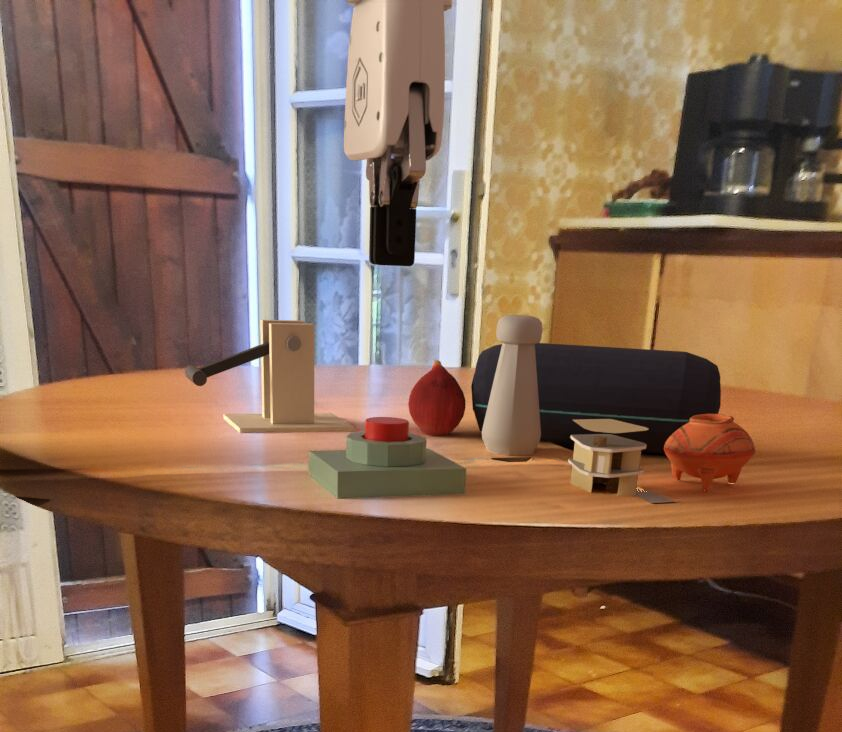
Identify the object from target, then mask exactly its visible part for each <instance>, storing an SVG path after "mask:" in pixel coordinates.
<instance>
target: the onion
mask: <svg viewBox="0 0 842 732" xmlns="http://www.w3.org/2000/svg"><path fill="white" fill-rule="evenodd" d="M407 405H408V412H409V415H410V417H411V419H412V421H413V422H414V424H415V425H416V426H417V427H418V428H419V430H420V431H421V432H422V433H423V434H424V435H425V436H429V437H445V436H447V435H449V434H450V433H452V432H453V431H454V430H455V429H456V428H457V427H458V426H459V425H460V423H461V422H462V420H463V418H464V416H465V412H466V397H465V393H464V391H463V390H462V387H461V386H460V384H459V382H458V381H457V379H456V378H455V376H453V374H451V373H450V372H449V371H448V370H447V369H446V368H445V367H444V366H443V365H442V362H441V360H439V359H434V361H433V364H432V367H431V369H430V370H429V371H428V372H426V373H425V374H424V375H422V376H421V377H420V378H419V379H418V381H417V382H416V383H415V384H414V385H413V388H412V389H411V391H410V394H409V397H408V404H407Z"/></svg>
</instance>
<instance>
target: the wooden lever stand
mask: <svg viewBox="0 0 842 732" xmlns="http://www.w3.org/2000/svg"><path fill="white" fill-rule="evenodd" d="M259 321H260V345H261V344H264V343H266V342H269V355H266V356H263V357H261V358H260V360H261V361H260V363H261V366H260V367H261V410H262V411H261V413H223V420H224V421H226V422H227V424H229V425H230V426H232V428H233V429H235V430H236V431H237V432H238V433H240V434H251V433H252V434H253V433H256V434H258V433H266V434H267V433H323V432H324V433H325V432H326V433H328V432H333V433H334V432H335V433H336V432H337V433H338V432H356V426H354V425H353V424H351V423H349V422H347V420H344V419H342V418H341V417H339V416H337V415H336V414H334V413H332V412H331V413H330V412H319V413H318V412H316V413H315V324H314V323H305V321H304V320H297V319H296V320H295V319H293V320H291V319H290V320H289V319H260V320H259Z"/></svg>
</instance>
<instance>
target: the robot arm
mask: <svg viewBox="0 0 842 732" xmlns="http://www.w3.org/2000/svg"><path fill="white" fill-rule="evenodd" d="M345 1H346V4H348V5H350V6H352V7H353V10H352V17H351V23H350V33H349V41H348V52H347V54H348V55H347V65H346V66H347V67H346V82H345V83H346V84H345V102H344V104H345V106H344V124H343V125H344V127H343V152H344V154H345V156H346V157H347V158H348V159H349V160H350V161H355V162H357V161H358V162H359V161H364V160H366V164H365V165H366V166H365V177H366V180H367V181H368V185H369V186H368V188H369V192H368V193H369V194H368V195H369V205H370V207H369V240H368V241H369V243H368V244H369V246H368V247H369V248H368V260H369V263H370V264H372V265H376V266H391V267H412V266H414V264H415V257H416V256H415V255H416V234H417V233H416V227H417V207H418V203H419V195H420V194H419V192H420V181H421V179H423V177H424V176H425V175H426V171H427V161H429V160H432V159H433V158H434V157H435V156H436V155H437V154H438V153H439V151H440V149H441V146H442V140H443V139H442V138H443V129H444V115H445V88H446V87H445V85H446V84H445V83H446V45H445V44H446V39H445V36H446V35H445V31H446V30H445V12H447V11H448V10H450V9H452V7H453V0H345Z"/></svg>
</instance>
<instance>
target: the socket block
mask: <svg viewBox="0 0 842 732" xmlns="http://www.w3.org/2000/svg"><path fill="white" fill-rule="evenodd" d="M345 438H346V440H345V441H346V442H345V449H331V450H330V449H329V450H327V449H326V450H325V449H324V450H309V451H308V476H309V477H310V478H311V479H313V480H314V481H315V482H316V483H318V484H319V485H320V486H321V487H322V488H323V489H325V491H327V492H328V493H330V494H331V495H332V496H333V497H335V498H336V499H339V500H340V499H367V498H395V497H397V498H398V497H399V498H400V497H423V496H425V497H427V496H450V495H451V496H453V495H455V496H456V495H465V494H466V479H467V468H466V467H464V466H463V465H461V464H458V463H457V462H455V461H453V460H451V459H450V458H448V457H446V456H444V455H442V454H440V453H438V452H436V451H434V450H432V449H431V448H427V443H428V442H427V441H428V439H427V437H424V436H422V435H420V434H417V433H411V432H408V441H402V442H384V441H373V440H368V439H365V430H361V431H354V432H351V433H349V434H347V435H346V437H345Z"/></svg>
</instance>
